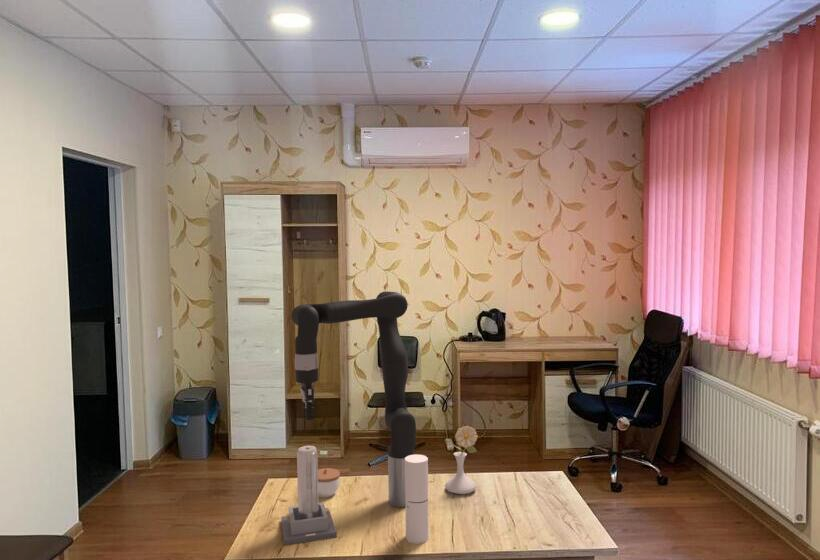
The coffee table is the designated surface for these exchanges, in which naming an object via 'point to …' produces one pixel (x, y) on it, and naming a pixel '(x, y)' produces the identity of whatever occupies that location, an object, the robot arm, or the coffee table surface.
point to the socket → (307, 526)
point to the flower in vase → (460, 480)
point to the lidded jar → (328, 482)
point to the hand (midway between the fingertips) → (308, 416)
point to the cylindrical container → (416, 498)
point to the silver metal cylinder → (307, 482)
